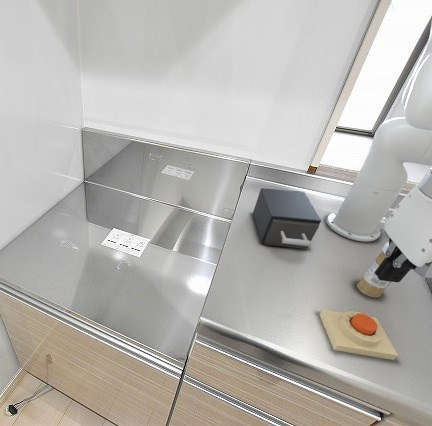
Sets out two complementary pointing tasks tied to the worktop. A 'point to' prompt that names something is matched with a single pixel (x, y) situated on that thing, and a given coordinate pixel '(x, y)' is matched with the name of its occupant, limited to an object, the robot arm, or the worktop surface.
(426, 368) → the worktop surface
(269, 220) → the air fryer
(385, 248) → the sprinkles bottle
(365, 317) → the button
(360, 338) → the control pad
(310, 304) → the worktop surface
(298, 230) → the drawer
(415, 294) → the worktop surface
